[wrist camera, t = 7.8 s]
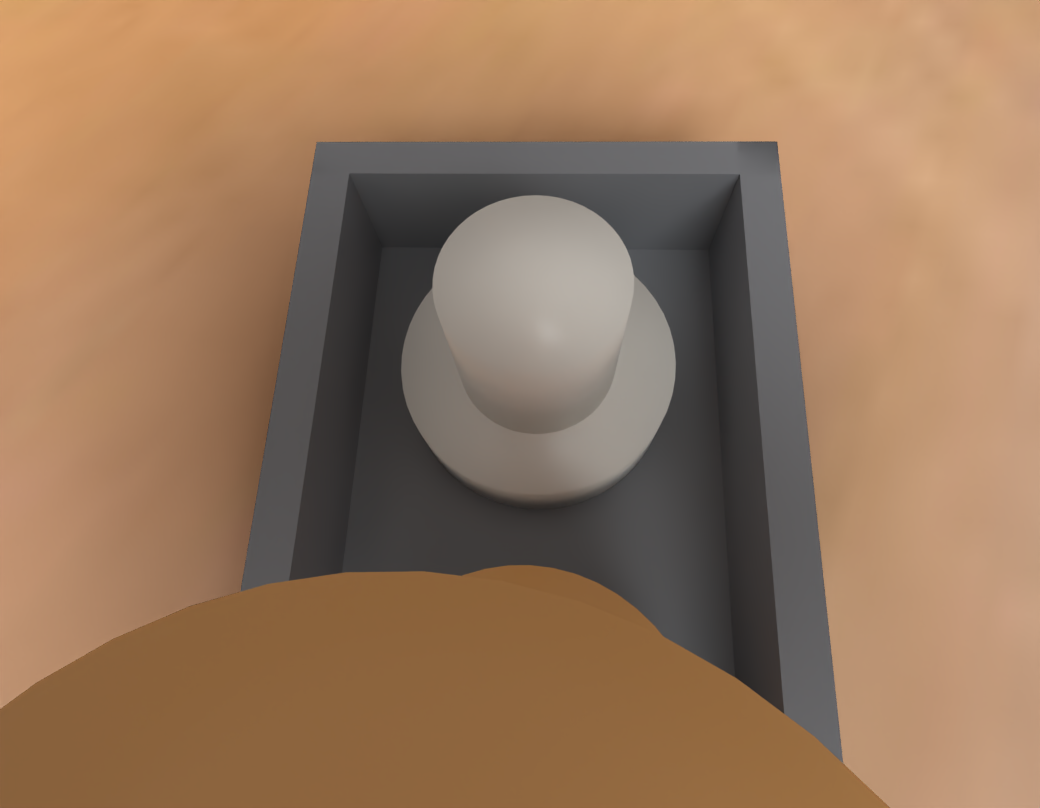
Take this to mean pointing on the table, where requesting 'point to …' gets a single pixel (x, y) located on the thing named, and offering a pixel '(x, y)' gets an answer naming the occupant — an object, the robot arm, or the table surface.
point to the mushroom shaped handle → (409, 707)
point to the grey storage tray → (557, 389)
